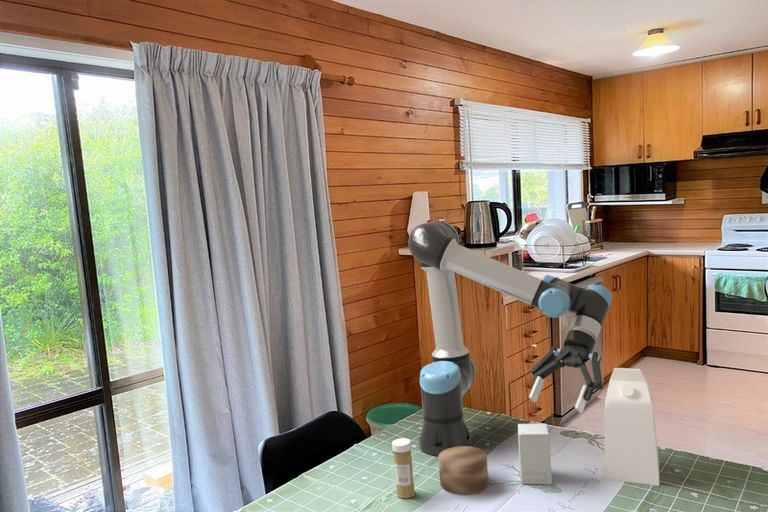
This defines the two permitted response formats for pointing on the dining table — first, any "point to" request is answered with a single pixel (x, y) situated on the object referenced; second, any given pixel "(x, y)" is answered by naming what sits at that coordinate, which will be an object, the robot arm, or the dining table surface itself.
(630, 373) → the milk
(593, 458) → the dining table surface
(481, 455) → the brown cylinder
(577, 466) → the dining table surface
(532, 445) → the supplement box
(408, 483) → the sprinkles bottle
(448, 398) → the robot arm
